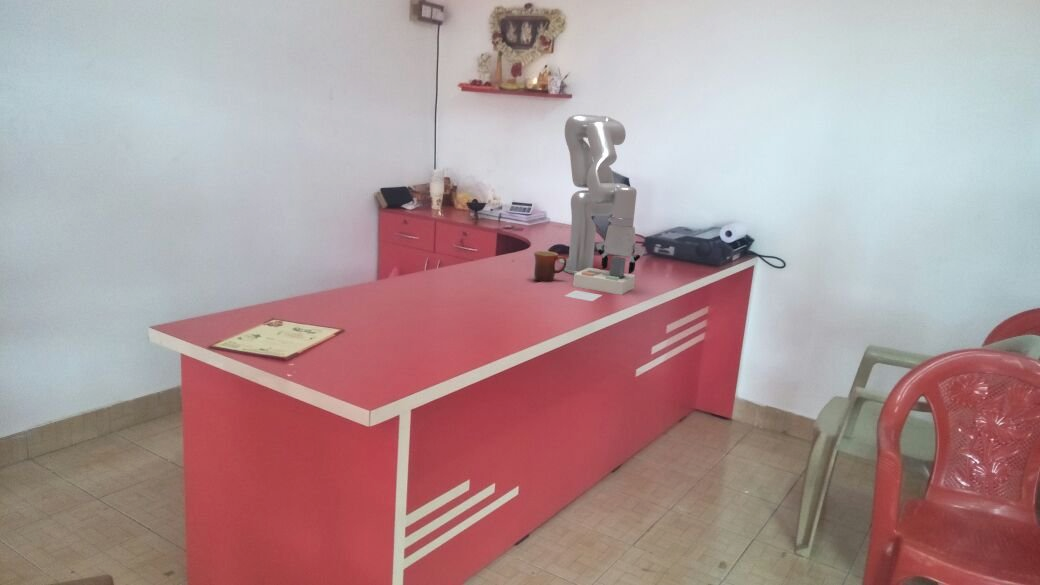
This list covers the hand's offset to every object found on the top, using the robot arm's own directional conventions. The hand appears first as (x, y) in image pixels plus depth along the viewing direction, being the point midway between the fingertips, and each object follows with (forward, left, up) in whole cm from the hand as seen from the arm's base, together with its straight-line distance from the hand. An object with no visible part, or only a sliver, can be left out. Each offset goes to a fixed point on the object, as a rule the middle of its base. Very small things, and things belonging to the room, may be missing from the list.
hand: (617, 270), depth 250 cm
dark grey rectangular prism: (0, 0, -6) cm, 6 cm away
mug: (-24, -4, -7) cm, 26 cm away
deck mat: (-5, -17, -7) cm, 19 cm away
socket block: (-4, 0, -7) cm, 8 cm away
